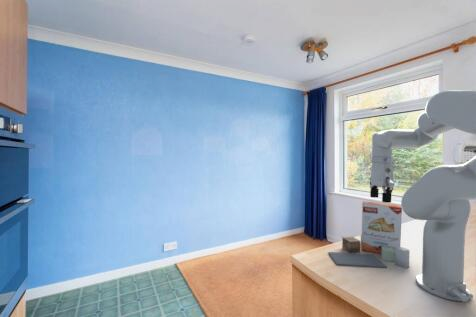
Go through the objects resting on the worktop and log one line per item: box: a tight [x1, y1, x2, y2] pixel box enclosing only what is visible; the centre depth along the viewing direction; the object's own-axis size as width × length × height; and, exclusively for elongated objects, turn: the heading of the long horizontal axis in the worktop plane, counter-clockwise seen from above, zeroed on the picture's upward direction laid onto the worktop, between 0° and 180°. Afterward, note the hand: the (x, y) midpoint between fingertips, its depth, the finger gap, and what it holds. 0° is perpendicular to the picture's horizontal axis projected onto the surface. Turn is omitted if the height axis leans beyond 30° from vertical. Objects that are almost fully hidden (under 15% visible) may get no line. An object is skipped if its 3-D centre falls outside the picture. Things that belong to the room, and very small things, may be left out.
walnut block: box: [341, 236, 361, 253], centre depth 97 cm, size 5×5×5 cm
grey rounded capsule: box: [394, 246, 410, 269], centre depth 84 cm, size 4×4×6 cm
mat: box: [328, 251, 388, 269], centre depth 87 cm, size 10×18×1 cm, turn 84°
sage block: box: [380, 246, 395, 263], centre depth 89 cm, size 4×4×4 cm
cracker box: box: [360, 201, 403, 254], centre depth 95 cm, size 14×6×21 cm, turn 62°
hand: (380, 199), depth 96 cm, fingers open, 9 cm apart
